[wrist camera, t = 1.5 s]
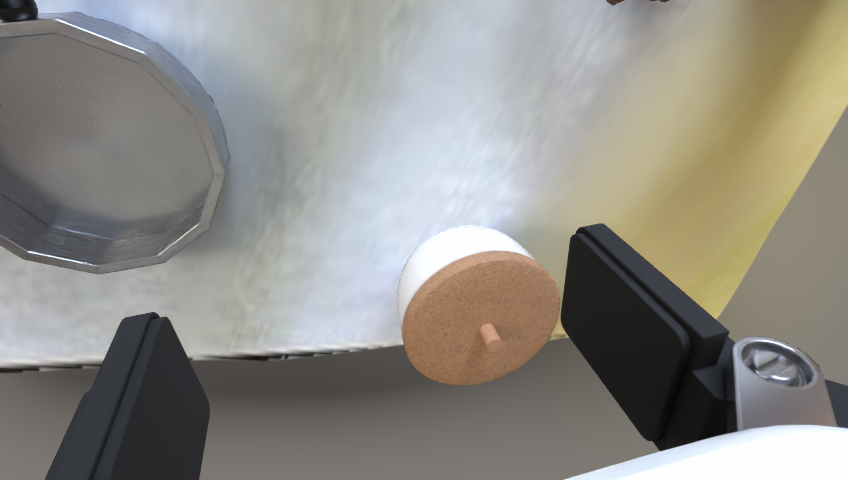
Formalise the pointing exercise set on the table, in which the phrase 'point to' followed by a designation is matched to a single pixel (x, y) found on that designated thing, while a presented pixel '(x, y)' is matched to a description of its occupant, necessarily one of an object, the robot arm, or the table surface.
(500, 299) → the trinket box
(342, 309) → the table surface
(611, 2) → the brown curved open frame
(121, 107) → the frying pan
